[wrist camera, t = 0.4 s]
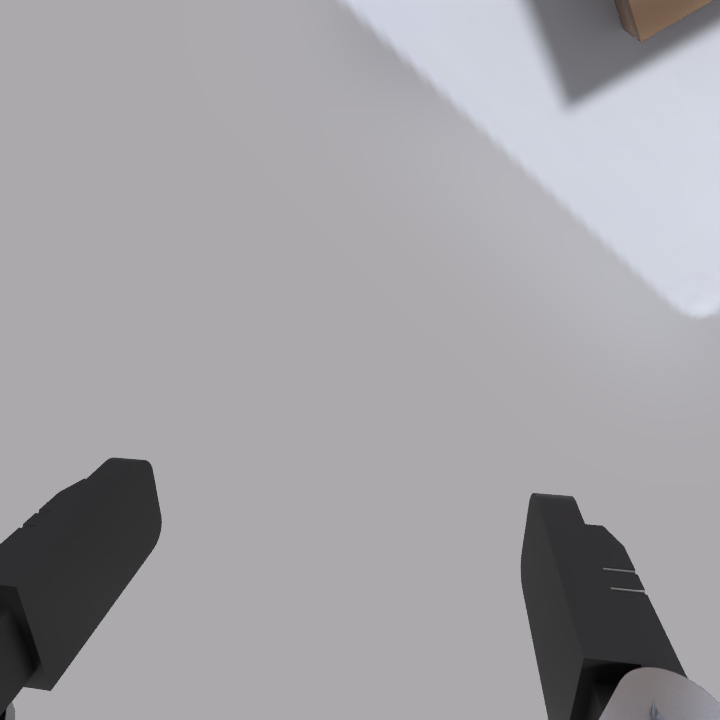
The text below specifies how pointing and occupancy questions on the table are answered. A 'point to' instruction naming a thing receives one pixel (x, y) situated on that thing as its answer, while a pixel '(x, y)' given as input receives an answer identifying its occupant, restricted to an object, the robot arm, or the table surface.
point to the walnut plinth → (653, 14)
